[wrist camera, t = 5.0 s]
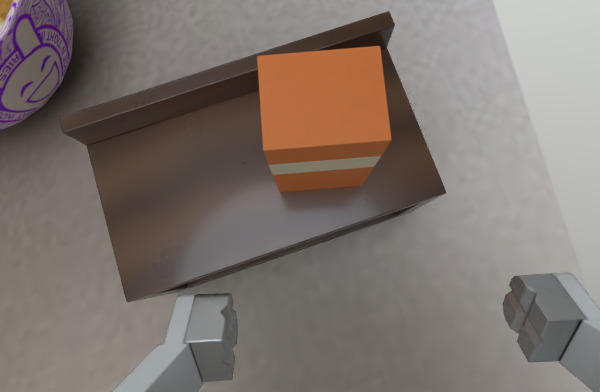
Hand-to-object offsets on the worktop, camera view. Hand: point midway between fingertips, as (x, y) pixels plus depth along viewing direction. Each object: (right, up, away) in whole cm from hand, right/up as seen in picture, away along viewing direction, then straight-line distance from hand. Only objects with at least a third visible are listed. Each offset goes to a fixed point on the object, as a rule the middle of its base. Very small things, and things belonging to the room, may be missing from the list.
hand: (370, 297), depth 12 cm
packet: (-1, +5, +13) cm, 14 cm away
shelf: (-4, +4, +22) cm, 23 cm away
